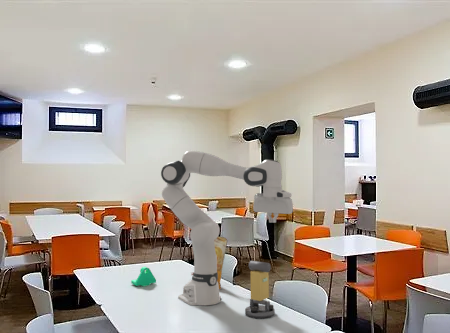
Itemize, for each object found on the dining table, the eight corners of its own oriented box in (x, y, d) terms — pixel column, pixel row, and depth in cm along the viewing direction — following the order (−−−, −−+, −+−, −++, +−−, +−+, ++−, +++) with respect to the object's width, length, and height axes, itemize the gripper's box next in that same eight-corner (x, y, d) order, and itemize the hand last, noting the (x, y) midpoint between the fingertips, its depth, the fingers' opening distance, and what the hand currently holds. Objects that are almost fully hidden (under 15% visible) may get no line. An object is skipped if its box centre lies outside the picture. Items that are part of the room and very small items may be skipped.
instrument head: (247, 303, 189) (246, 262, 189) (255, 300, 194) (255, 259, 195) (264, 307, 183) (263, 264, 184) (272, 303, 189) (272, 261, 189)
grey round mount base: (239, 314, 188) (239, 301, 188) (255, 307, 198) (255, 294, 198) (264, 320, 180) (264, 306, 180) (280, 313, 190) (280, 299, 190)
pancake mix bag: (209, 282, 247) (209, 233, 248) (228, 289, 232) (228, 237, 232) (199, 283, 244) (200, 234, 244) (218, 290, 228) (218, 238, 229)
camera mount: (150, 281, 248) (150, 264, 249) (156, 284, 242) (156, 266, 242) (130, 284, 241) (130, 266, 242) (136, 287, 235) (136, 268, 235)
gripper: (250, 193, 207) (250, 221, 207) (287, 194, 195) (287, 224, 194) (257, 192, 212) (257, 220, 212) (294, 193, 200) (294, 223, 199)
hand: (272, 222), depth 203 cm, fingers closed
